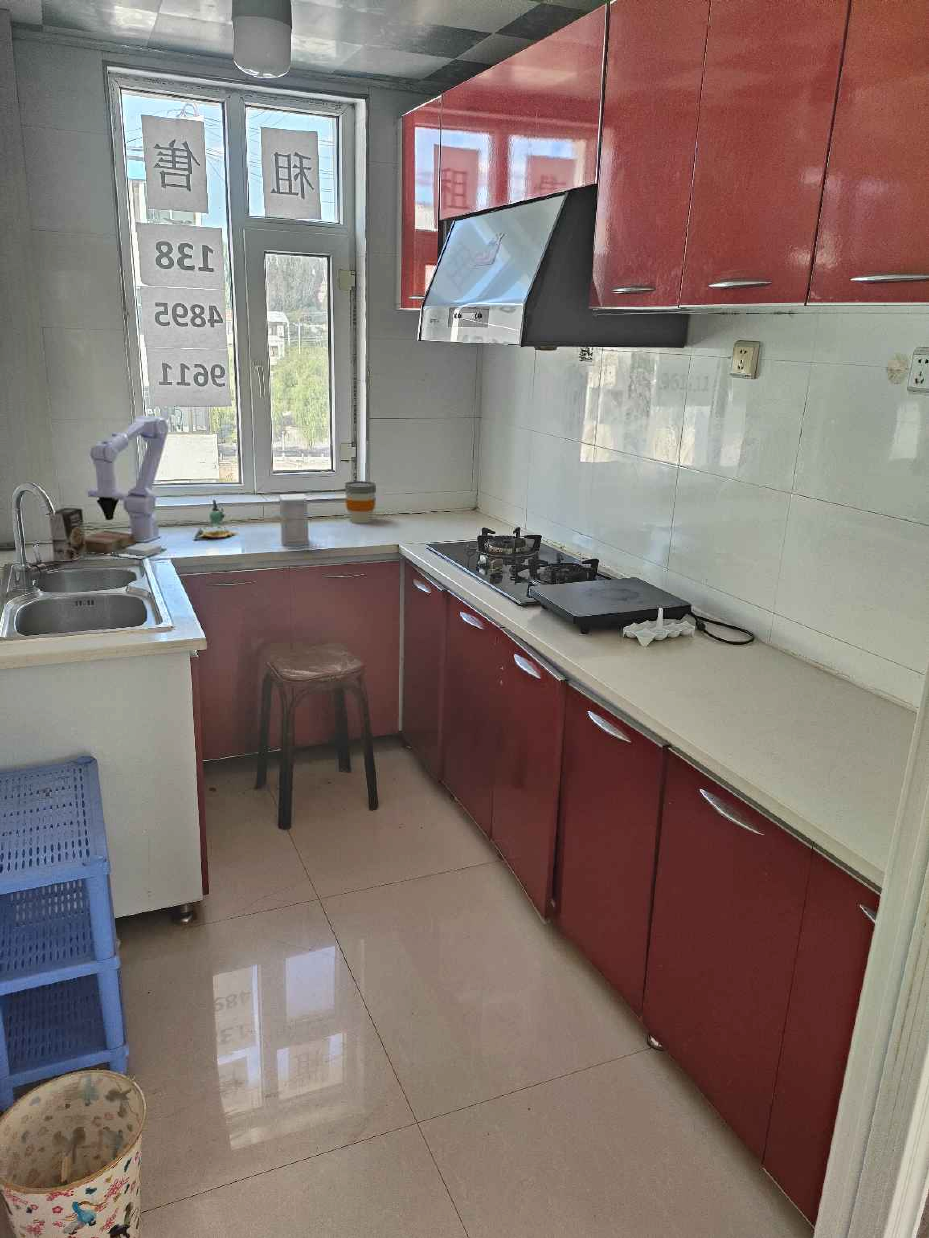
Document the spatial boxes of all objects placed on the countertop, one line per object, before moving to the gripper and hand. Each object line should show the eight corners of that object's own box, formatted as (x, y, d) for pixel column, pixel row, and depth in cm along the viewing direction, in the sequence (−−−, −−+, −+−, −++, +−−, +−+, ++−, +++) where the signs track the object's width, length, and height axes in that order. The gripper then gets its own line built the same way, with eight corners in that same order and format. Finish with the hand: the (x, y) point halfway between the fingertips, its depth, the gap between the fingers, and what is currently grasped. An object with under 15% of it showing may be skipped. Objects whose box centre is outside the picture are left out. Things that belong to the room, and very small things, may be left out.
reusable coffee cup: (343, 517, 362) (342, 481, 357) (373, 517, 365) (373, 480, 360) (346, 524, 351) (346, 487, 346) (378, 524, 353) (378, 486, 348)
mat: (135, 545, 311) (135, 544, 311) (166, 550, 307) (166, 548, 307) (108, 555, 298) (108, 554, 298) (140, 560, 295) (140, 558, 294)
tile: (160, 545, 303) (161, 551, 304) (141, 542, 306) (141, 548, 306) (145, 551, 296) (146, 556, 297) (125, 548, 299) (126, 554, 299)
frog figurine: (186, 536, 326) (187, 496, 322) (233, 536, 336) (235, 497, 332) (194, 542, 318) (195, 501, 314) (242, 542, 328) (244, 502, 324)
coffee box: (71, 562, 289) (65, 514, 284) (53, 561, 290) (47, 512, 285) (87, 555, 297) (82, 508, 292) (70, 553, 298) (65, 506, 293)
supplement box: (306, 538, 329) (305, 493, 323) (309, 544, 320) (308, 498, 315) (280, 539, 326) (278, 494, 320) (282, 545, 318) (280, 499, 312)
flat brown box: (106, 541, 315) (105, 530, 313) (134, 545, 311) (133, 534, 310) (78, 550, 302) (77, 539, 301) (107, 555, 298) (106, 543, 297)
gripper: (79, 479, 296) (83, 519, 301) (116, 483, 292) (119, 524, 297) (94, 476, 303) (97, 515, 307) (130, 480, 299) (133, 520, 303)
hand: (109, 519), depth 302 cm, fingers closed
